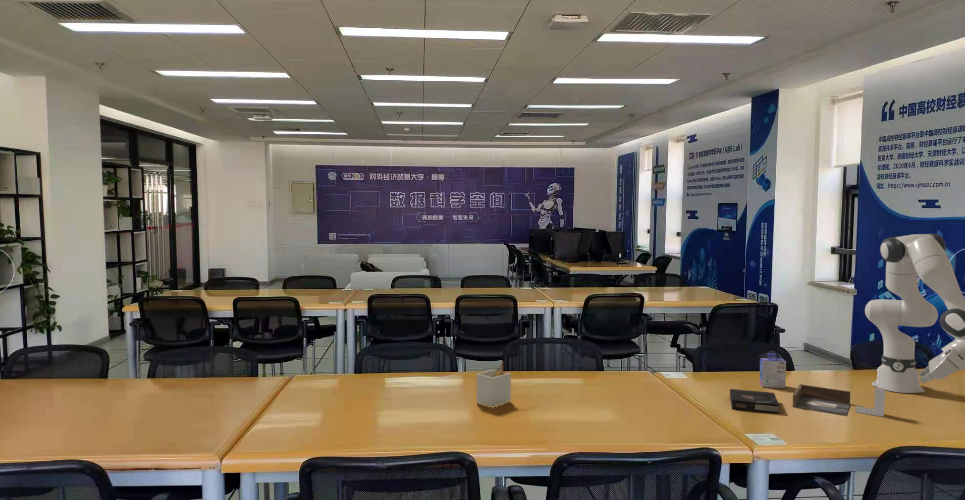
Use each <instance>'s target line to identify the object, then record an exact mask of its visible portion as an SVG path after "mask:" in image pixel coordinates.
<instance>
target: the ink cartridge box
mask: <svg viewBox="0 0 965 500" xmlns="http://www.w3.org/2000/svg"><path fill="white" fill-rule="evenodd" d="M786 369H787V360H785V359H784V358H778V356H777V353H770V352H768V353H767V358H765V357H760V358H759V385H760V386H761V387H762V388H772V389H773V388H775V389H776V388H777V389H786V383H787V382H786V378H787V375H786V372H787V371H786Z"/></svg>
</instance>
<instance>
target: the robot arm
mask: <svg viewBox="0 0 965 500" xmlns="http://www.w3.org/2000/svg"><path fill="white" fill-rule="evenodd" d="M946 249H947V246H946V242H945V240H944V238H943V237H942V236H941V235H940V234H936V233H926V234H925V233H921V234H920V233H919V234H918V233H917V234H914V233H913V234H909V235H900V236H894V237H893V236H891V237H888V238H885V239H883V240H882V242H881V243H880V248H879V251H880V256H881V258H882V259H883V260H884V261H885V262H886V263H885V264H886V265H885V287H886V288H887V290H888V291H889V292H890V293H892V294H894V295H896V296H899V297H900V298H901V300H899V299H885V298H884V299H883V298H881V299H880V298H879V299H871V300H869V301H868V302H867V304H865V308H864V314H865V317H866V318H867V319H868V321H870V322H871V323H872V324H873V325H874V326H876V327H877V329H878V330H879V332H880V334H881V336H882V342H883V354H882V355H881V365H879V367H877V369H876V371H877V372H876V374H877V375H876V380H874V381H873V382H872V383H871V386H873V387H880V388H885V391H889V392H893V393H894V392H895V393H900V394H901V393H902V394H916V393H921V394H924V393H925V389H924V388H923V387H922V386H921V385H920V383H922V384H926V383H927V382H929V381H933V380H934V379H936V381H940V380H942V379H945V378H946V377H949V376H950V375H952V374H954V373H957V371H959V370H960V371H962V370H964V369H965V297H964V295H963V292H962V291H961V287H960V286H959V285H960V284H959V283H958V280H957V277H956V274H955V271H954V269H953V266H952V263H951V260H950V259H949V256H948V255H947V253H946ZM918 276H919V278H920V279H921V281H922V283H924V284H925V285H926V286H927V287H929V288H930V289H931V290H932V291H933V292H934V293H936V294H937V296H939V298H940V299H941V300H942V301H943V303H944V305H945V306H946V309H947V310H945V311H944V312H943V313H941V315H940V318H939V313H938V310H937V307H935V305H933V304H932V303H930V302H929V301H928V300H927V299H925V297H924V296H923V295H922V294H921V292H920V290H919V283H918V281H919V279H918ZM938 318H939V325H940V327H941V328H942V330H943V331H945V332H946V333H947V334H949V335H950V337H953V338H954V340H952V341H951V342H949V343H947V345H945V346H943V347H941V351H942V353H940V354H939V355H936V356H935V357H934V358H932V359H930V360H929V361H928V366H926V367H925V368H924V369H923V370H922V371H920V372H919V371H918V370H917V369H916V365H917V362H916V358H915V349H916V348H915V347H916V342H915V340H914V339H913V338H912V337H911V336H909V334H906V333H904V332H902V331H900V330H899V328H898V326H899V327H900V326H904V327H914V328H926V327H932V326H933V325H935V324H936V322H937V320H938Z"/></svg>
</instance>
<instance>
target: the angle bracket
mask: <svg viewBox="0 0 965 500" xmlns="http://www.w3.org/2000/svg"><path fill="white" fill-rule="evenodd" d="M874 387H875V388H874V402H873V403H874V405H873V408H871V407H867V406H865V407H864V406H859V405H855V409H854V410H855V413H856V412H857V414H862V413H863V415H870V416H876V417H882V418H884V415H885V397H886V396H885V395H886V394H885V393H886V390H885V388H880V387H876V386H874Z"/></svg>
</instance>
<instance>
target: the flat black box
mask: <svg viewBox="0 0 965 500" xmlns="http://www.w3.org/2000/svg"><path fill="white" fill-rule="evenodd" d="M729 400H730V406H731V410H735V409H736V411H747V412H755V413H756V412H757V413H763V414H764V413H766V414H776V415H780V404H779V401H778V399H777V396H776V395H775V393H774V392H770V391H769V392H768V391H761V390H760V391H759V390H758V391H756V390H746V389H739V388H738V389H737V388H730V389H729Z"/></svg>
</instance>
